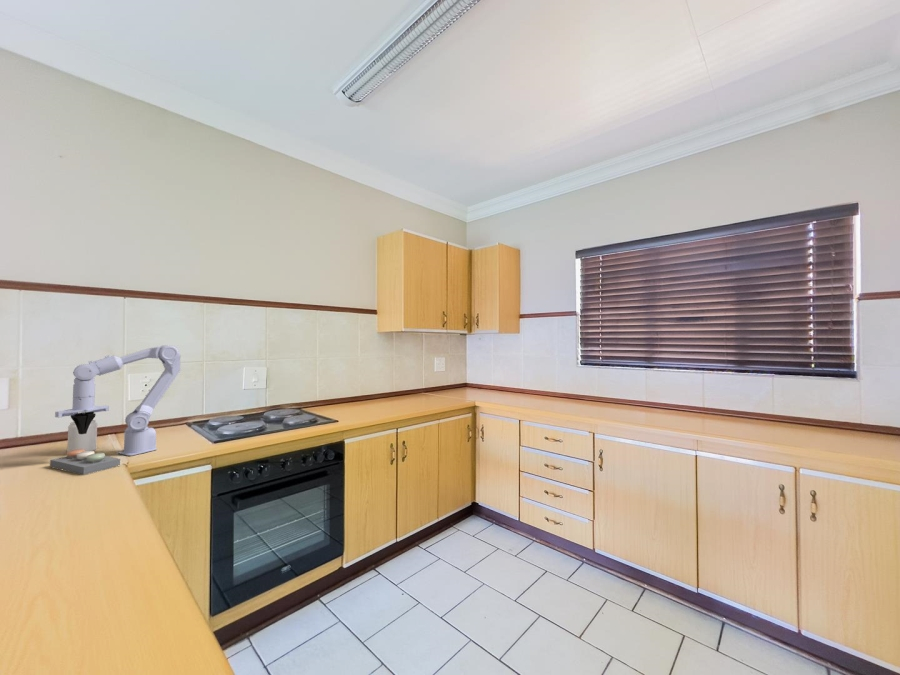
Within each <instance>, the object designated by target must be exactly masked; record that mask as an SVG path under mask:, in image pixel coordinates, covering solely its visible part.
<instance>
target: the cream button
mask: <svg viewBox="0 0 900 675" xmlns="http://www.w3.org/2000/svg"><path fill="white" fill-rule="evenodd" d="M91 454H96V453H95V450H94V451H86V452H80V453H77V459H78V461H86V460H87V456H88V455H91Z"/></svg>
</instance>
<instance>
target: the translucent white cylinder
mask: <svg viewBox="0 0 900 675" xmlns="http://www.w3.org/2000/svg"><path fill="white" fill-rule="evenodd" d="M96 421H97V420H96V419H93V420H92V421H91V423H90V425H89V427H88V430H87V433H86V434H79V433H78V429H77V427H76V424H75V423H74V421H72V422H70V423H69V425H68V427H67V448H66V449H67V450H66V453H67V452H68V451H71V450H76V449H85V452H86V451H94V452H95V451H96V450H97V442H98V441H97V440H98V422H96Z"/></svg>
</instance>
